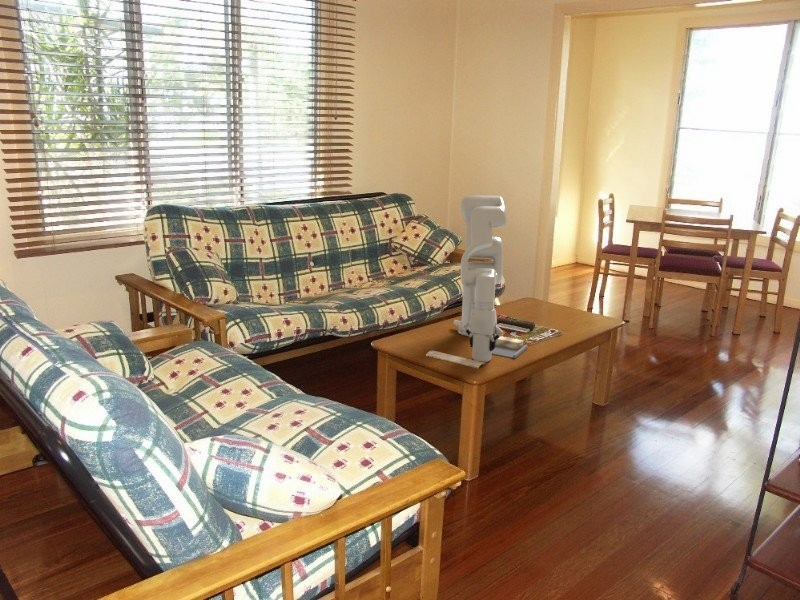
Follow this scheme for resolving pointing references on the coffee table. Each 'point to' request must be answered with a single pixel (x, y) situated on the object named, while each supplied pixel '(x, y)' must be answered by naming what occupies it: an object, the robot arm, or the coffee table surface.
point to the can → (481, 347)
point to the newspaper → (454, 359)
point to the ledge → (509, 342)
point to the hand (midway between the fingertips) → (482, 348)
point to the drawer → (508, 351)
